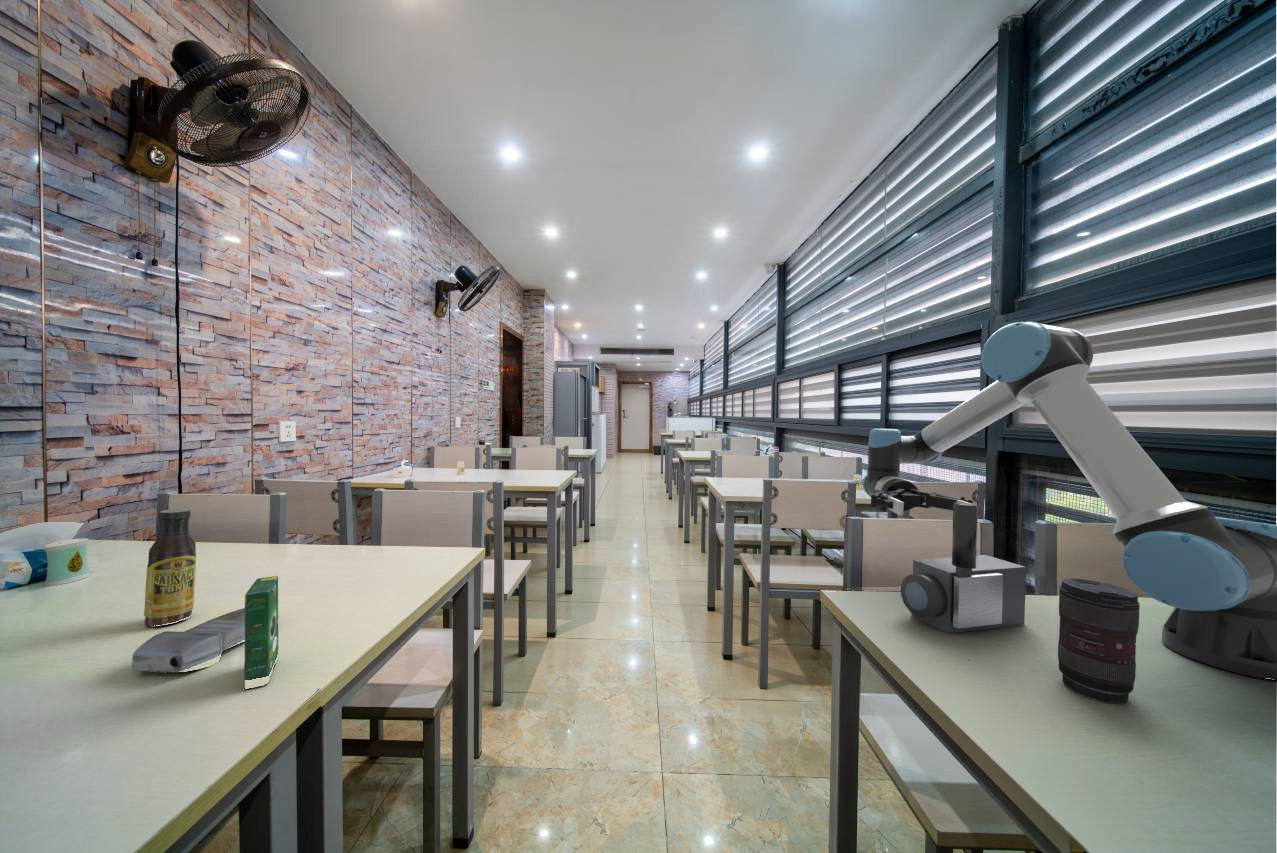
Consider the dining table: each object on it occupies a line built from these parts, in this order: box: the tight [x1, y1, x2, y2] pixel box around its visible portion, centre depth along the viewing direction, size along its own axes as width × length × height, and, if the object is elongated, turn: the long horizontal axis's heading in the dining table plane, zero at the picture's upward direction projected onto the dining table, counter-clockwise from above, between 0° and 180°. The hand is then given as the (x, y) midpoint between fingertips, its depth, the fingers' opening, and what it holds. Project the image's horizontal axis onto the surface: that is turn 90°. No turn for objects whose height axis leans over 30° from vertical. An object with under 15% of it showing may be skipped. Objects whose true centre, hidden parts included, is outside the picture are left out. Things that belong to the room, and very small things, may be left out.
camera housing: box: [900, 554, 1027, 634], centre depth 88 cm, size 21×8×11 cm, turn 104°
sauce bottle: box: [143, 508, 197, 627], centre depth 82 cm, size 6×6×20 cm
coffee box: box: [243, 575, 279, 680], centre depth 66 cm, size 8×3×13 cm, turn 30°
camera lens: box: [1057, 577, 1141, 705], centre depth 66 cm, size 8×8×15 cm
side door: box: [951, 503, 1003, 629], centre depth 83 cm, size 10×4×22 cm, turn 104°
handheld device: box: [131, 607, 245, 673], centre depth 74 cm, size 10×20×5 cm, turn 178°
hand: (938, 510), depth 92 cm, fingers open, 13 cm apart
